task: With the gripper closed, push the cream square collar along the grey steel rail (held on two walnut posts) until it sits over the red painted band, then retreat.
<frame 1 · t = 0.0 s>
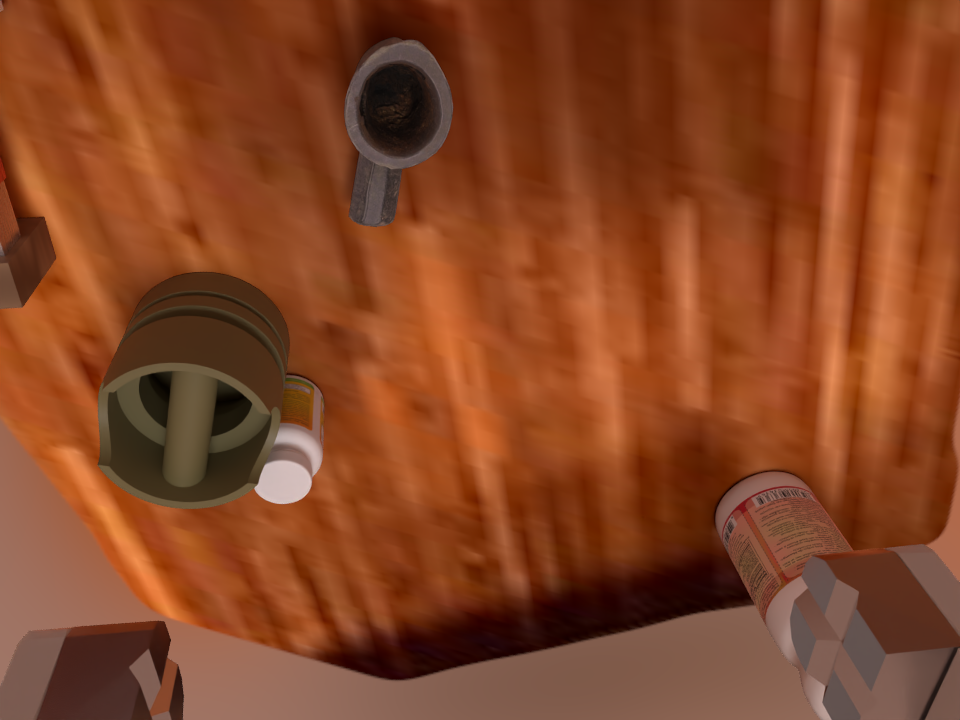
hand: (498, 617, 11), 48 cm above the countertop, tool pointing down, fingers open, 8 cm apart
pipe: (387, 114, 55), on the countertop
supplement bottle: (289, 399, 66), on the countertop, touching piston
fruit juice: (759, 505, 79), on the countertop
piston: (211, 339, 62), on the countertop, touching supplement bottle
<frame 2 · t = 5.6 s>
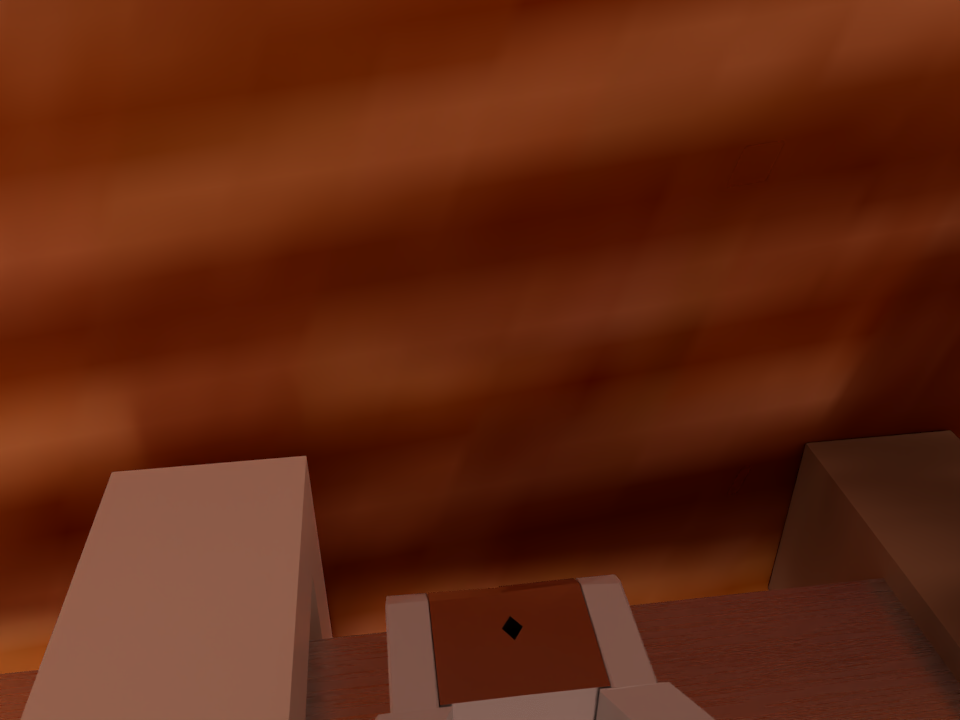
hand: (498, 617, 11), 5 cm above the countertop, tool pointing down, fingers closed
posts: (183, 580, 16), on the countertop
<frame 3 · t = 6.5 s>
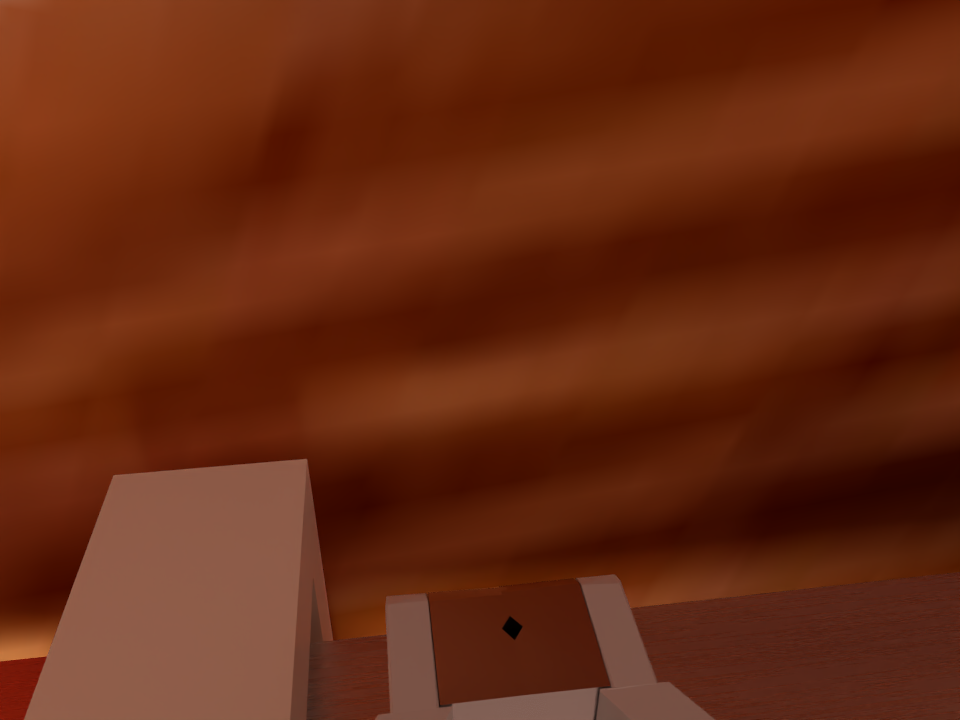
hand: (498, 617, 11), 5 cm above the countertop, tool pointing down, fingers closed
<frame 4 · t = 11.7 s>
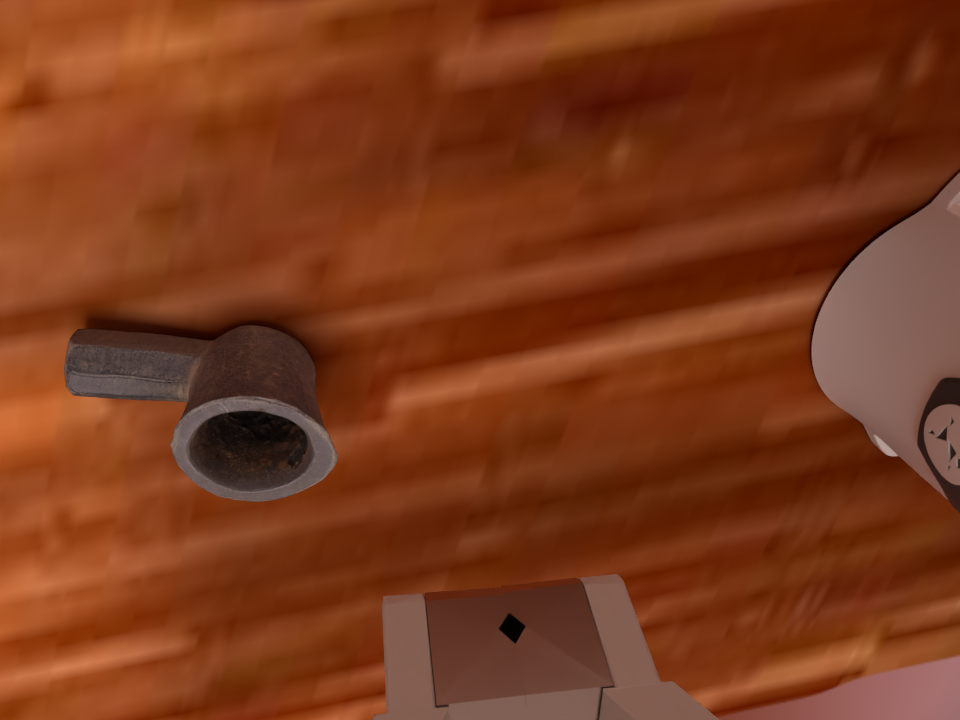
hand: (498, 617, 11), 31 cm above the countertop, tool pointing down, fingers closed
pipe: (216, 352, 44), on the countertop
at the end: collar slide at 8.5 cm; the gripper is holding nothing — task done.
